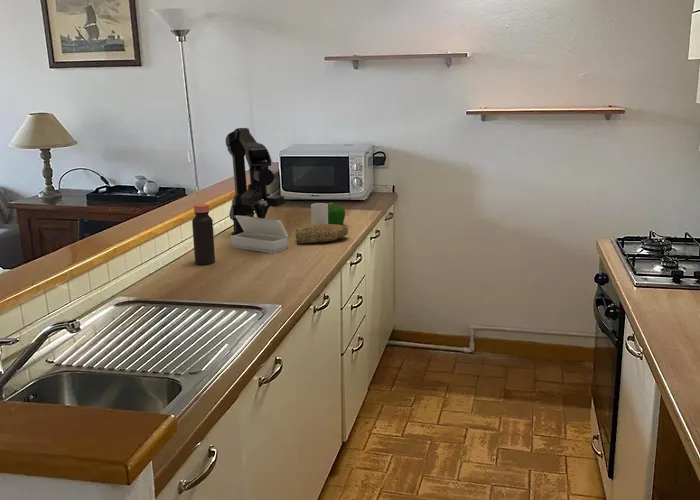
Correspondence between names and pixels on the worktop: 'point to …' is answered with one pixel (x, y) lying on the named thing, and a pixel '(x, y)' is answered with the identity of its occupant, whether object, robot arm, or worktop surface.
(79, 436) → the worktop surface
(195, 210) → the bottle
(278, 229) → the lid
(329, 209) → the bell pepper
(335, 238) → the rock
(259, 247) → the cable tray
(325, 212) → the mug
